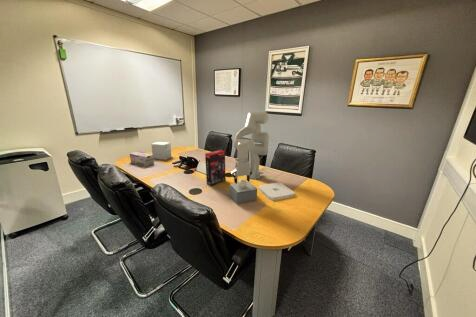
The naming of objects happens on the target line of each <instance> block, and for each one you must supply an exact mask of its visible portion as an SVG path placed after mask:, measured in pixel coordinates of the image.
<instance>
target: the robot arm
mask: <svg viewBox="0 0 476 317" xmlns="http://www.w3.org/2000/svg"><path fill="white" fill-rule="evenodd" d="M268 120H269V113H268V112H264V111H263V112H261V111H250V112H248V113H247V116H246V121H245V124H244V127H242V128H241V129H240V130H239V131H237V133H236V134H235V138H234V141H233V147H234V149H236V152H237V153H236V158H235V167H234V170H232V171H231V172H230V175H231V176H232V177H233V182H234V183H236V184H237V183H238V178H239V177H244V176H246V182H250V180H251V179H253V180H257V179H258V180H259V179H260V177H261V175H263V174H264V172H263V171H260V157H259V156H260V155H261V156H266V155H268V153H269V145H270V144H269V143H270V142H269V141H270V136H269V133H268V132H267V131H262V130H261V129H262V125H264V124H266V123H267V122H268ZM248 135H250V139H245V138H243V137H245V136H248Z"/></svg>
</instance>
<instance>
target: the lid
mask: <svg viewBox="0 0 476 317" xmlns="http://www.w3.org/2000/svg"><path fill="white" fill-rule="evenodd" d="M229 184H230V185H231V186H232V187H233V189H234V190H235V191H236V192H237V193H240V192H246V191H252V190H257V191H258V188H257V187H256V186H254V184H252V183H251V182H250V181H249V182H248V181H246V188H238V182H237V184H236V183H235V182H234V183H229ZM230 185H229V186H230Z"/></svg>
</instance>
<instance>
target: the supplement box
mask: <svg viewBox="0 0 476 317" xmlns="http://www.w3.org/2000/svg"><path fill="white" fill-rule="evenodd" d="M150 146H151V155H153V158H154V160H155V159H156V160H165V161H166V160H168V159H171V158H172V148H171V142H169V141H168V142H167V141H164V142H163V141H156V142H153V143H151V145H150Z"/></svg>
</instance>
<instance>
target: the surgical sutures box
mask: <svg viewBox="0 0 476 317" xmlns="http://www.w3.org/2000/svg"><path fill="white" fill-rule="evenodd" d="M129 158H130V163H131V164H135V165H138V166H140V165H141V167H144V168H146V166H147V167H150V166H153V165H155V159H154V158H153V155H152V153H146V152H143V151H135V152H129ZM152 164H153V165H152ZM149 165H150V166H149Z"/></svg>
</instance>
